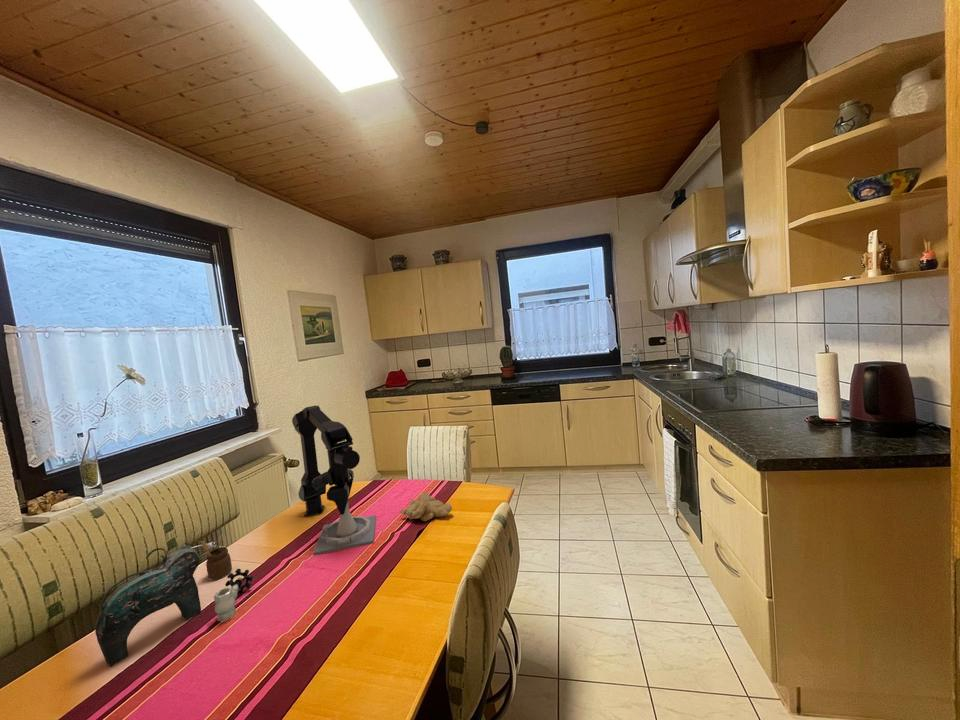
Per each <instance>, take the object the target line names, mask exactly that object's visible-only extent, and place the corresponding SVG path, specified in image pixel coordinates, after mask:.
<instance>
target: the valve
mask: <svg viewBox="0 0 960 720" xmlns="http://www.w3.org/2000/svg"><path fill="white" fill-rule="evenodd" d="M249 573H250V570H249V569H245V570H244V572H242V569H241V568H237V569H235V572H234V573H233V572H230V573H229V574H228V575H227V577H226V578H227V579H230V580H227V581H226V582H225V583H224V584H225V587H223V588H221V589H219V590H217V592H215V593H214V596H213V600H214V603H215V604H214V611H215V613H216V618H217V619H216V620H217V622H219V621H225V622H227V621H228V620H227V619H229V618H231V617H233V615H234V614H235V615H236V613H237V610H236V606H235V605H236V600H237V598H238V594H239V593H240V594H242V593H243V592H244V590H245V588H246V590H249V589H251V586H252V583H250V582H253V580H254V576H253V575H249ZM239 576H242V577H243V578H242V577H239ZM236 577H237V578H236ZM235 578H236V580H235V581H234V579H235ZM244 581H245V583H244V584H243V582H244ZM229 586H230V587H229ZM235 612H236V613H235ZM235 615H234V616H235ZM233 618H234V617H233ZM231 619H232V618H231ZM226 620H227V621H226ZM229 620H230V619H229Z"/></svg>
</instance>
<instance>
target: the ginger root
mask: <svg viewBox="0 0 960 720" xmlns="http://www.w3.org/2000/svg"><path fill="white" fill-rule="evenodd" d="M452 510H453V506H452V504H451V503H450V502H446V503H443V502H442V501H440V500H439V499H437V500H436V498H435V497H434V496H431V495H430V494H429V493H427V492H425V491H424V492H422V493H421V494H420V495H418V499H412V500H411V501H409V504H408V505H407V506H406V508H404V509H401V510H400V511H399V513H400V514H401V515H406V517H407V518H408V519H409V520H414V519H415V520H417V519H420V520H421V522H422V521H423V522H427V521H429V520H431V519H433V518H442V517H445V516H447V515H448V514H449V513H451V512H452Z"/></svg>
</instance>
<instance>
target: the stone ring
mask: <svg viewBox="0 0 960 720" xmlns="http://www.w3.org/2000/svg"><path fill="white" fill-rule="evenodd" d="M352 517H353V519H354V521H355V522H356V523H363V524H365V525H366V526H365V527H364V528H363V529H362V530H361V531H359V532H357V533H355V534H353V535H351V536H347V537H342V538H332V537H329V536H328V533H330V532H331V531H332V530H333V529H335V528H337V527H338V524H339V519H338V520H334V521H333V522H331V523H329V524H330V525H328V526H327V527H326V528H324V530H323V532H322V541H324V542H325V543H326V544H327V545H336V546H337V545H338V546H339V545H343V544H348V543H352V542H354V541H356V540H359V539H361V538H363V537H364V536H365V535H366V534H367V533H368V532H369V531H370V528H371V522H370V520H369V519H368V518H366V517H367V516H361V515H352Z"/></svg>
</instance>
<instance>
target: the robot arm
mask: <svg viewBox="0 0 960 720" xmlns="http://www.w3.org/2000/svg"><path fill="white" fill-rule="evenodd" d="M291 419H292V420H291V423H292V426H293V428H294V430H295V432H296V433H298V435H299V436H300V437H299V438H300V443H301V451H302V460H303V461H302V462H303V468H304V473H303V476H302V477H301V480H300V484H301V485H300V487H299V490H298V497H299V500H300V501H302V502H305V503H304V504H305V510H306V511H305V512H304V514H303V516H304V517H308V516H309V517H310V516H313V515H314V516H315V515H319V514H322V513H323V512H324V509H325V504H323V501H322V496H323V495H325V494H326V500H327V501H330V502H331V501H332V502H334V504H335V506H336V508H337V510H338V512H339V516H340V515H343V514H344V513H345V509H346V505H347V502H349V499H350V494H351V489H352V486H353V483H354V477H355V475H354V474H355V473H354V470H353V469H355V468H356V467H357V466H358V465H359V463H360V460H361V456H360V454H359V453H358V452H357V451H356V450H353V445H354V442H353V437H352V436H351V434H350V432H349V430H348V429H347V427H346V426H345V425H344V424H343V423H341V422H339V421H334V420H332V419H331V418H329V416H328V415H326V413H324V412H323V410H322V409H321V407H320V405H311V406H306V407H305V408H303V409H302V410H301V411H299V412H297V413H295V414H294V416H293V417H292V418H291ZM317 430H318V431H320V438H321V441H322V442H323V444H324V446H325V449H326V450H327V458H328V459H327V460H328V465H329V466H328V467H329V468H328V470H327V471H325V472H322V473H321V472H320V471H319V467H318V465H319V464H318V458H317V449H316V441H315V434H316V432H317ZM327 485H329V488H328V490H327Z"/></svg>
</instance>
